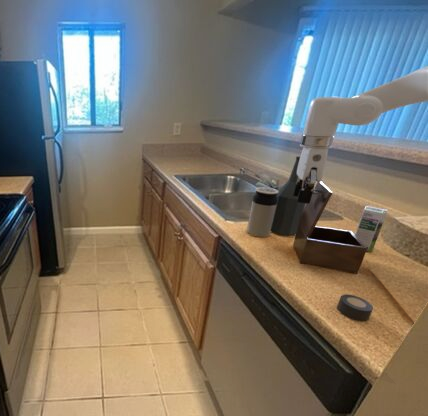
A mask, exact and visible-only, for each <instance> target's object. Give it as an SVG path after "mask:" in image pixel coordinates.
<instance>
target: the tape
mask: <svg viewBox="0 0 428 416" xmlns="http://www.w3.org/2000/svg"><path fill="white" fill-rule="evenodd" d="M336 308H337V311H339V312H340V313H341V314H342V315H344V316H345V317H346V318H349V319H352V320H355V321H358V322H366V321H369V320H370V318H371V315H372V313H373V311H374V306H373V305H372V304H371V302H369V301H367V300H366V299H365V298H362V297H360V296H357V295H353V294H342V295H340V297H339V300H338V303H337V305H336Z"/></svg>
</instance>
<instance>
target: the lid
mask: <svg viewBox="0 0 428 416" xmlns="http://www.w3.org/2000/svg"><path fill="white" fill-rule="evenodd" d="M333 194H334V192H333V191H332V190H331V189H330V188H329V187H328V186H327V185H326V184H324V183H323V181H321V182H317V181H316V183H315V185H314V189H313V193H312V196H311V200H310V203H306V204H305V208H304V211H303V213H302V215H301V217H300V219H299V221H298V224H299V226H300V227H301V229H302V231H303V233H304V235H305V237H306V238H309V237H310V235H311V233H312V231H313V229H314V228H315V226H317V224H318V222H319V220H320V219H321V216H322V214H323V212H324V210H325V208H326V207H327V205H328V203H329V201H330V200H331V197H332V195H333Z"/></svg>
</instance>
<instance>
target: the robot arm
mask: <svg viewBox="0 0 428 416" xmlns="http://www.w3.org/2000/svg"><path fill="white" fill-rule="evenodd" d="M425 102H428V65H426V66H424V67H423V66H422V67H421V68H418V69H416V70H414V71H412V72H410V73H408V74H405V75H403V76H401V77H398V78H395V79H393V80H391V81H388V82H386V83H383V84H381V85H378V86H376V87H374V88H371V89H368V90H366V91H364V92H361V93H359V94H356V95H354V96H350V97H340V96H319V97H318V96H317V97H314V98H313V99H312V100H311V101H310V103H309V106H308V111H307V115H306V119H305V122H304V127H303V132H302V135H301V139H300V144H299V146H300V147H302V150H301V153H300V155H299V156H300V160H299V163H298V168H297V175H298V179H297V182H296V185H295V189H294V193H293V196H298V199H297V202H299V203H306V204H307V203H310V200H311V196H312V193H313V189H314V188H315V186H316V184H317V182H323V181H322V180H323V177H324V173H325V169H326V164H327V160H328V154H329V149H332V145H333V142H334V139H335V135H336V132H337V128H338V125H339V124H342V125H349V126H357V127H359V126H366V125H370V124H371V123H373V122H375V121H376V120H378V119H379V117H381V116H382V114H384V113H387V112H389V111H392V110H395V109H399V108H402V107H406V106H409V105H410V106H411V105H414V104H415V105H416V104H419V103H425Z"/></svg>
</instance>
